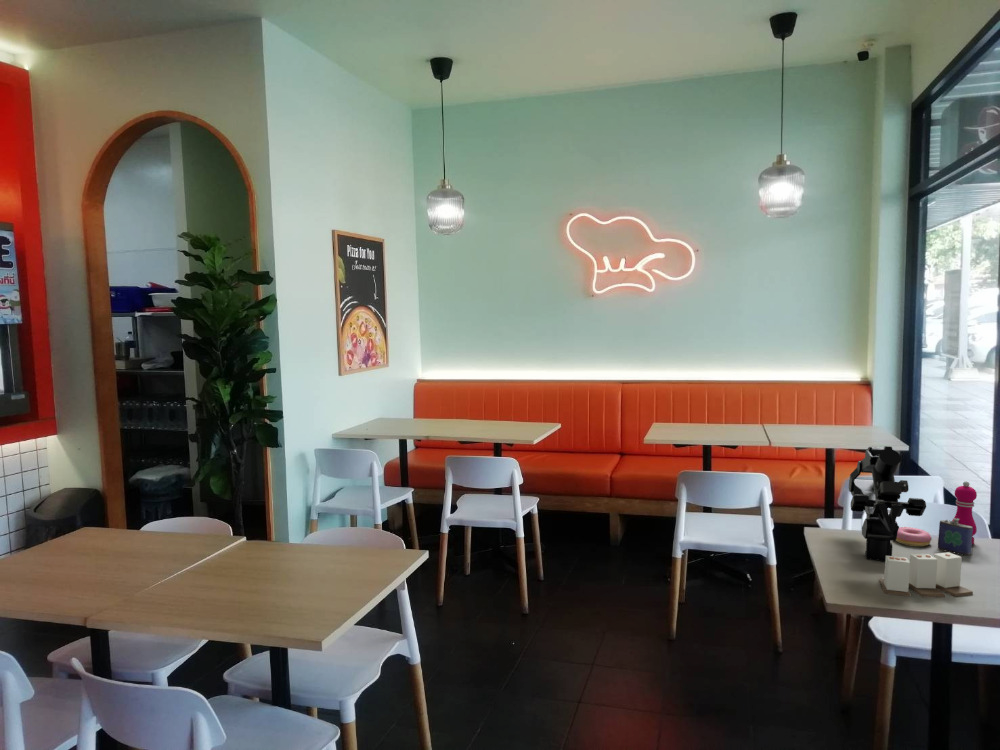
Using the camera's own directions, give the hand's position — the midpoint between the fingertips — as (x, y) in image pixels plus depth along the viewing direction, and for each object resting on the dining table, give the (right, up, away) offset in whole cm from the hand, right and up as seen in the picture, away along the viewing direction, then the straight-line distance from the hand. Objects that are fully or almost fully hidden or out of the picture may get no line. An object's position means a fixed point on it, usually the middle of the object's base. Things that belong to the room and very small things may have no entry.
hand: (891, 531), depth 201 cm
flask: (+31, -11, +20) cm, 38 cm away
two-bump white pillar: (+3, -14, -9) cm, 17 cm away
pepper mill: (+39, -10, +30) cm, 50 cm away
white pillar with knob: (+10, -14, -8) cm, 19 cm away
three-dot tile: (-5, -14, -11) cm, 18 cm away
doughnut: (+23, -10, +29) cm, 39 cm away
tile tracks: (+4, -14, -9) cm, 17 cm away
